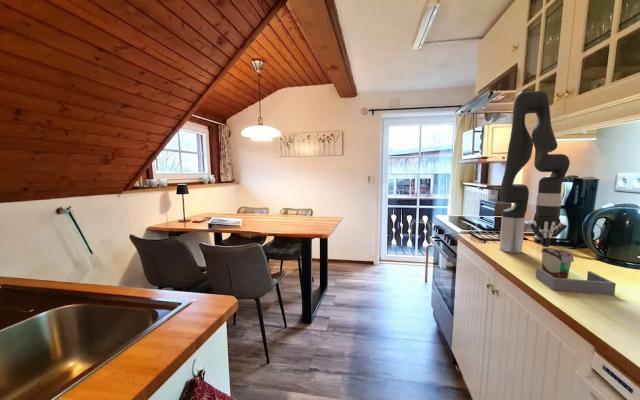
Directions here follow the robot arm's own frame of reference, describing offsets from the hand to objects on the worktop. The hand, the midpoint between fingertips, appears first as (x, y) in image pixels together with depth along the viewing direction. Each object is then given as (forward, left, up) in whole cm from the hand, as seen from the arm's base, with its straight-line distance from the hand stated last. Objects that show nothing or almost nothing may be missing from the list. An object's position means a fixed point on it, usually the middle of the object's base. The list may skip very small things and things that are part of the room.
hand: (545, 246), depth 109 cm
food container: (+10, 0, -9) cm, 14 cm away
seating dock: (+17, 0, -9) cm, 19 cm away
